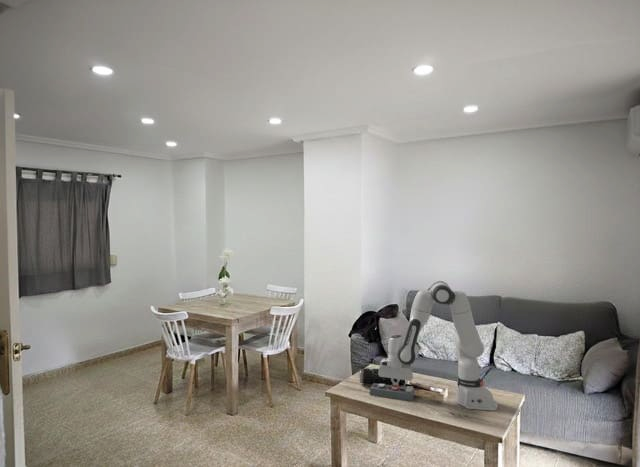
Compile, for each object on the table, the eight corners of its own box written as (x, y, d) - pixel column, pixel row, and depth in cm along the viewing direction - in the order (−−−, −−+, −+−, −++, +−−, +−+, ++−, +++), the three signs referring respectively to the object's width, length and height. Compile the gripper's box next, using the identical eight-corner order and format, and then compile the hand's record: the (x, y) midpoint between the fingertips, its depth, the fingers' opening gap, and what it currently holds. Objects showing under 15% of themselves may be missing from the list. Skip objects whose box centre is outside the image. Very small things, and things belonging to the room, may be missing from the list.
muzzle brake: (405, 388, 257) (405, 371, 257) (360, 387, 258) (360, 371, 257) (402, 382, 266) (402, 366, 266) (359, 382, 267) (359, 366, 267)
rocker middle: (398, 386, 246) (398, 384, 246) (397, 390, 242) (397, 388, 242) (393, 385, 248) (393, 384, 248) (391, 389, 243) (391, 388, 243)
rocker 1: (385, 385, 249) (385, 384, 250) (383, 387, 245) (383, 385, 245) (379, 384, 251) (379, 383, 251) (377, 386, 246) (377, 384, 246)
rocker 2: (412, 388, 243) (412, 386, 243) (411, 392, 239) (411, 391, 239) (407, 387, 245) (407, 385, 244) (405, 391, 240) (405, 390, 240)
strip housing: (414, 395, 245) (414, 388, 245) (412, 401, 237) (412, 394, 237) (373, 389, 254) (373, 382, 254) (369, 394, 246) (369, 388, 246)
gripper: (414, 363, 245) (413, 386, 245) (380, 358, 253) (380, 381, 253) (412, 366, 239) (412, 390, 239) (377, 362, 247) (377, 385, 247)
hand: (395, 385), depth 246 cm, fingers closed, pressing on rocker middle
